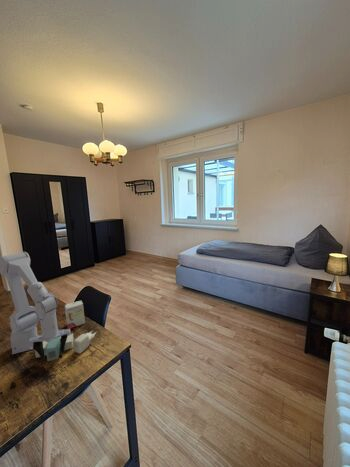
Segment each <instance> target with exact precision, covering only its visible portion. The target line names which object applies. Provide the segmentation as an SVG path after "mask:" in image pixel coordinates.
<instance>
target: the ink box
mask: <svg viewBox="0 0 350 467" xmlns="http://www.w3.org/2000/svg"><path fill="white" fill-rule="evenodd" d="M84 309H85V308H84V303H83V301H82V300H78V301H74V302H70V303H67V304H65V305H64V310H65V312H64V313H65V320H66V326H67V329H70V330H71V329H73V328H75V327H79V326H82V325H85V323H86V320H85V319H86V318H85V310H84Z"/></svg>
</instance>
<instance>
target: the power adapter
mask: <svg viewBox="0 0 350 467" xmlns="http://www.w3.org/2000/svg"><path fill="white" fill-rule="evenodd" d="M93 332H94V330H91V331H89V332H86V333H81V334H80V335H78V336H77V337H76V338H74V341H73V350H74V353H77V354H79V355H80V354H82V353H83V352H84V351H85V350H87V349H88V348H89V346H90V341H92V340H93V339H94V338H95V335H96V334H98V331H95V332H94V333H93Z"/></svg>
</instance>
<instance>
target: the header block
mask: <svg viewBox="0 0 350 467" xmlns="http://www.w3.org/2000/svg"><path fill="white" fill-rule="evenodd" d="M60 339H61V337H60ZM74 340H75V338H74V332H71V333H70V335H69V336H67V340H66V343H65V350H64V351H68V350H71V349H74V345H73V342H74ZM47 345H48V342H46V341H43V349H44V357H45V356H47V354H46V348H47ZM34 353H35V358H36V359H37V358H41V357H40V355H39V354H38V352H37V351H36V350H34Z"/></svg>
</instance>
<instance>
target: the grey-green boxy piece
mask: <svg viewBox="0 0 350 467" xmlns="http://www.w3.org/2000/svg"><path fill="white" fill-rule="evenodd" d="M61 350H62V346H61V342H60V337H58V338H55V339H53V340H52V341H51V342H48V345H47V348H46V354H47V355H46V361H47V362H50V361H53V360H56V359H57V360H58V359H59V358H60V357H59V356H60V353H61Z"/></svg>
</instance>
